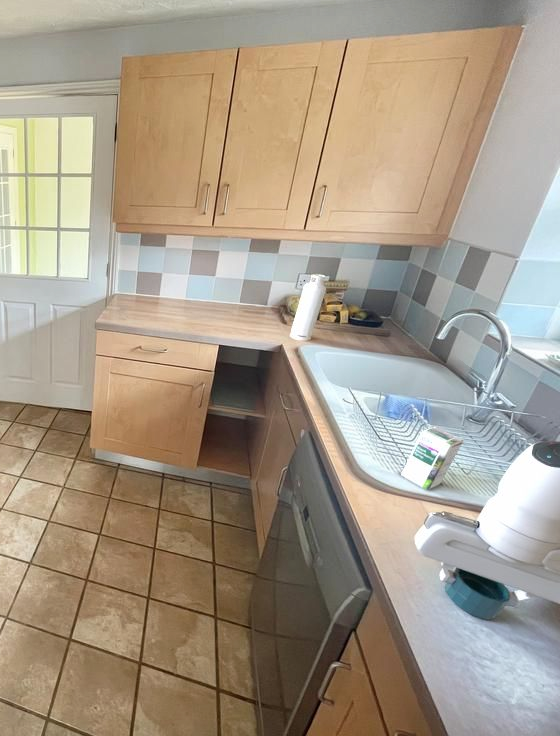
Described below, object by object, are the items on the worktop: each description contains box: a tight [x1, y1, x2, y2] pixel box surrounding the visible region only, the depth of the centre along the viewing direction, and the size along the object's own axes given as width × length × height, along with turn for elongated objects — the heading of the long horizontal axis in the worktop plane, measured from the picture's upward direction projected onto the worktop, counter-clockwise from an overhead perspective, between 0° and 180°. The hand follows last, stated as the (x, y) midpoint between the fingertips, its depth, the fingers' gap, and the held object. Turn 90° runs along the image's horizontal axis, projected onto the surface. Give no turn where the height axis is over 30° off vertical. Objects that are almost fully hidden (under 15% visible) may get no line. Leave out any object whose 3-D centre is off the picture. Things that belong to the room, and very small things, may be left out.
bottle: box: [289, 273, 327, 342], centre depth 178 cm, size 8×8×28 cm
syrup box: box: [400, 426, 465, 491], centre depth 96 cm, size 6×6×14 cm
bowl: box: [444, 567, 511, 620], centre depth 72 cm, size 7×7×5 cm
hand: (476, 591), depth 71 cm, fingers closed on bowl, 7 cm apart
